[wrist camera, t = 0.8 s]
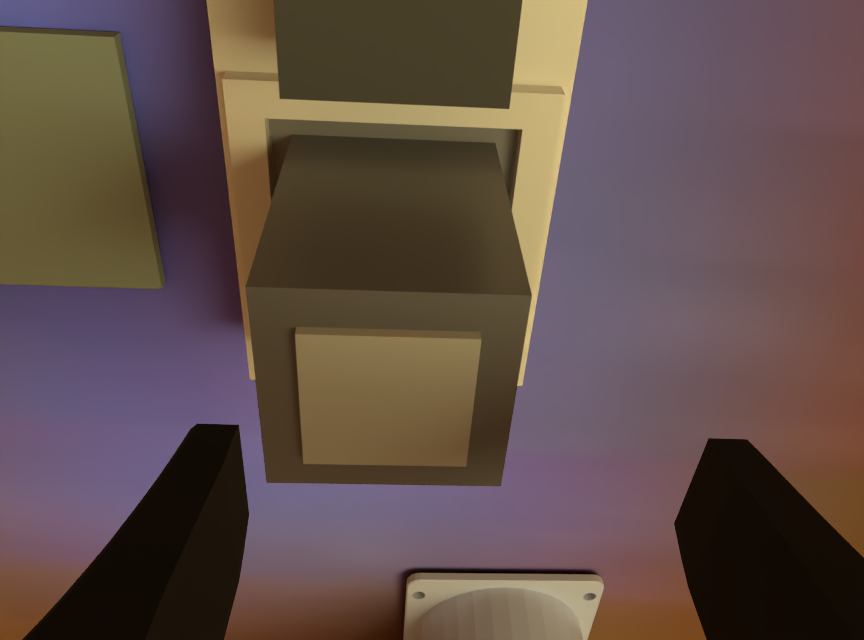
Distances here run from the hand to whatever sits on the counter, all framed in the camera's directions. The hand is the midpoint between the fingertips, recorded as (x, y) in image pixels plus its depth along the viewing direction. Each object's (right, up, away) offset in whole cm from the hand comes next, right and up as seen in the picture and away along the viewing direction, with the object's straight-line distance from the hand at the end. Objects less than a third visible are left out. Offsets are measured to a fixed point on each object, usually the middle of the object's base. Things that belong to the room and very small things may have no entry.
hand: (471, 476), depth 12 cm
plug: (-1, +10, +3) cm, 10 cm away
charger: (-2, +5, +6) cm, 8 cm away
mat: (-12, +6, +8) cm, 15 cm away
